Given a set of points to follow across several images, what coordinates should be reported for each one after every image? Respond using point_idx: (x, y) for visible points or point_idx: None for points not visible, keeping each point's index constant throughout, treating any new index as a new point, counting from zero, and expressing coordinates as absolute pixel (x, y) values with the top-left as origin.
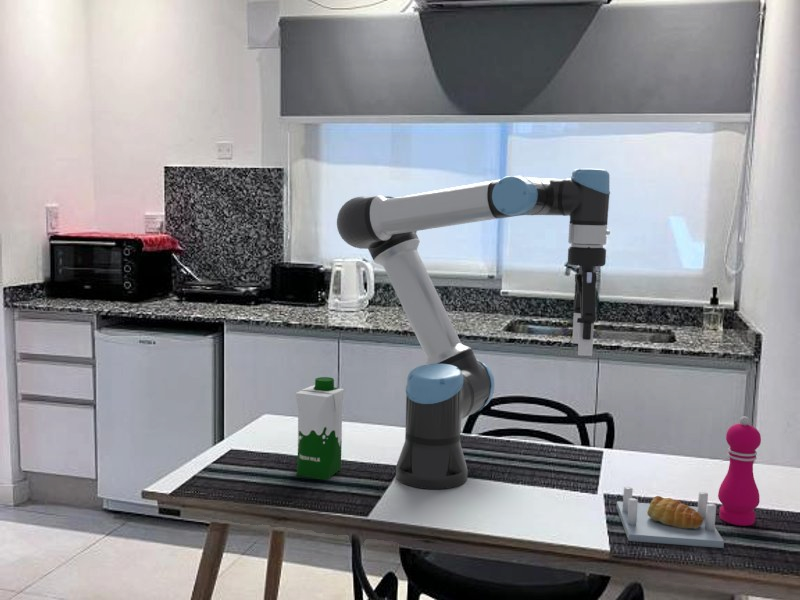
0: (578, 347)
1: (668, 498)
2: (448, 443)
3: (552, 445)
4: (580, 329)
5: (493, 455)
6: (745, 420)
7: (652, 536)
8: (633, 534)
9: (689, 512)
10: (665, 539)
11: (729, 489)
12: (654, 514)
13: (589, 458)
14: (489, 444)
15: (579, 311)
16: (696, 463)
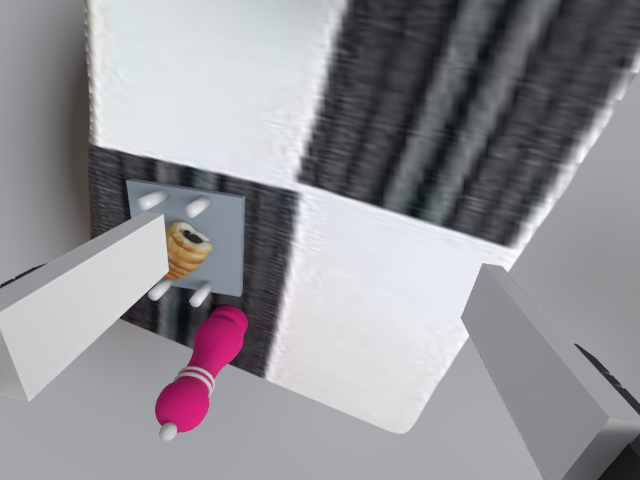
0: (127, 225)
1: (187, 257)
2: None
3: (564, 163)
4: (25, 282)
5: (519, 8)
6: (159, 432)
7: (130, 208)
8: (127, 186)
9: None
10: None
11: (200, 333)
12: (167, 227)
13: (470, 214)
14: (609, 6)
15: (626, 477)
16: (430, 353)
